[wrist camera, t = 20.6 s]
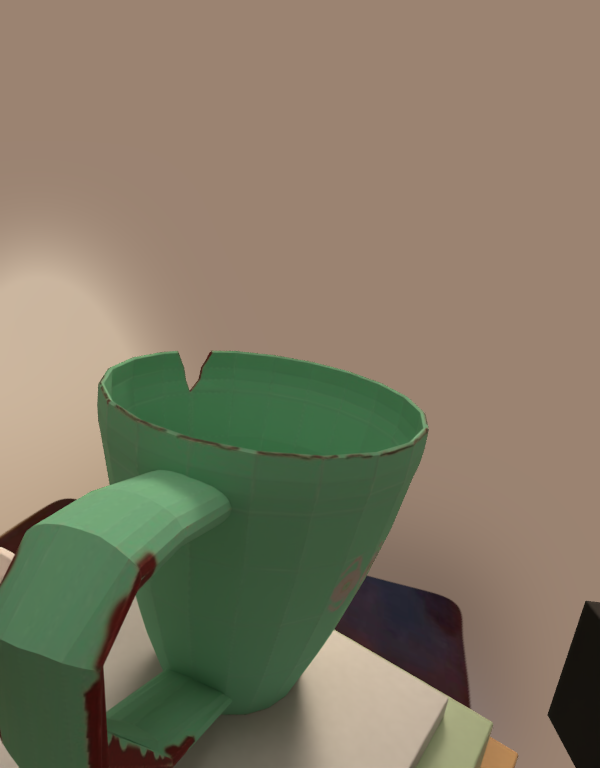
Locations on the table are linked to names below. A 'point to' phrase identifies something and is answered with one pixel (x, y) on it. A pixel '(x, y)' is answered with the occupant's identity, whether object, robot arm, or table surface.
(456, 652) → the table surface
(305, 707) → the scale
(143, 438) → the mug
